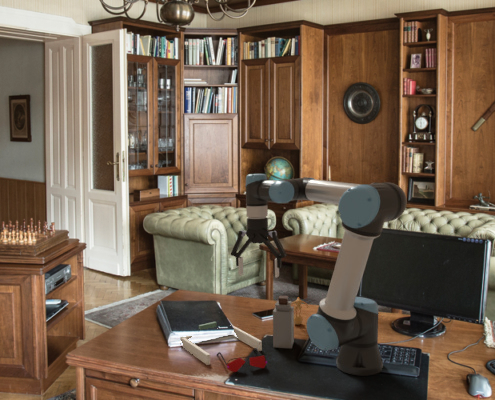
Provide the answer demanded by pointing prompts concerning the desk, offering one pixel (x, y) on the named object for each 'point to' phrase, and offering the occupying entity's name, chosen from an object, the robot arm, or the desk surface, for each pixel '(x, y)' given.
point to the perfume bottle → (283, 323)
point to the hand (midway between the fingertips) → (258, 275)
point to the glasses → (237, 363)
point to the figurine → (298, 318)
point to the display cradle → (205, 356)
